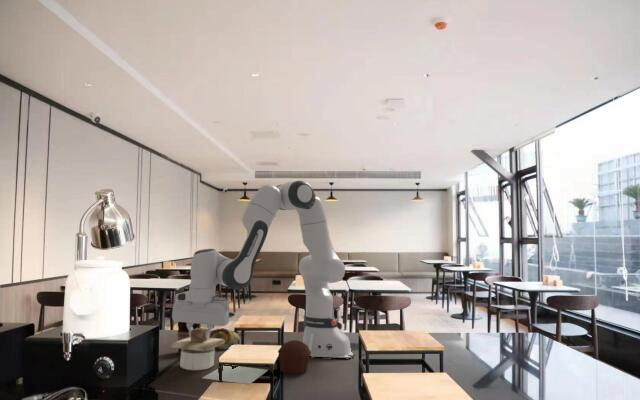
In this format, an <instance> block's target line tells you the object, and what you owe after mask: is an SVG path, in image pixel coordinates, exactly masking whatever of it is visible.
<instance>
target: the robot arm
mask: <svg viewBox="0 0 640 400" xmlns="http://www.w3.org/2000/svg"><path fill="white" fill-rule="evenodd" d="M279 210H280V211H287V210H288V211H293V210H295V211H296V212H297V214H298V216H299V217H298V218H299V225H300V231H301V238H302V243H303V245H304V246H305V247H306V249H307V250H308V252H309V255H306V256H304V257H302V258H301V259H300V261H299V263H298V272H299V273H300V275H301V277H302V281H303V284H304V291H305V315H304V318H303V329H304V330H303V338H302V342H303V343H305V344H306V345H307V346H308V348H309V350H310V351H311V354H310V356H324V357H350V356H348V355H353V353H352V352H351V349H352V347H351V342H350V339H349V336H348V335H346V334H345V333H344V332H343V331H342V330H341V329H340V328H339V327H338V318H335V317H334V316H333V313H334V312H333V311H334V309H333V308H334V307H333V306H334V297H333V294H332V293H331V291H330V289H329V284H335V283H338V282H340V281H341V280H342V279H343V278H344V277H345V275H346V274H345V273H346V266H345V264H344V262H343V260H341V259H340V257H339V256H338V254H337V252H336V250H335V247H334V246H333V244H332V240H331V237H330V232H329V228H328V226H329V225H328V222H327V215H326V211H325V207H324V205H323V202H322V200H321V198H320V197H318V196H316V194H315V192H314V188H313V187H312V185H311V184H310V183H309V182H307V181H305V180H296V181H295V180H294V181H288V182H285V183H282V184H280V185H279V184H278V185H277V186H275V185H273V184H268V183H267V184H262V185H261V186H260V188H259V189H258V190H257V191H256V193H254V195H253V196H252V198H251V199H250V201H249V203H248V204H247V206H246V207H245V210H244V212H243V214H242V218H241V219H242V220H241V221H242V225H243V227H244V228H245V229H246V232H247V234H246V239H245V241H244V242H243V245H242V247H241V249H240V251H239V253H238V255H237V256H236V257H235V258H234V259H232V258H229V257H227V256H224V255H223V254H221V253H220V252H219V251H217V250H216V249H214V248H205V249H200V250H196V251H195V252H194V253H193V255H192V259H191V263H190V274H189V275H190V284H189V288H188V290H185V291H183V292H180V293H176V294H175V296H174V297H175V298H174V299H175V302H174V303H173V306H172V313H171V319H172V320H173V322H176V323H178V322H186V323H187V328H188V330H189V336H191V330H193V327H192V325H193V323H196V324H200V325H206V329H207V331H206V332H204V334H203V335H204V336H203V337H204V338H209V337H210V333H211V332H212V331H213V329H214V326H219V327H224V326H227V325H228V324H229V322H230V310H229V309H230V301H229V299H227V298H226V297H220V296H216V287H217V285H221V286H223V287H228V288H229V289H230V290H234V291H241V290H243V289H245V288H247V287H248V286H249V285H250V283H251V282H252V280H253V277H254V272H255V271H254V270H255V266H256V265H255V264H256V262H257V260H258V257H259V255H260V252H261V250H262V248H263V245H264V243H265V240H266V239H267V236H268V232H269V228H270V226H271V224H272V222H273V220H274V218H275V217H276V215H277V213H278V211H279Z"/></svg>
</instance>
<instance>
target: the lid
mask: <svg viewBox="0 0 640 400" xmlns="http://www.w3.org/2000/svg"><path fill="white" fill-rule="evenodd" d="M207 329H208V328H204V327H203V328H201V327H199V328H196V329H193V330H191V336H190V337H188V338H185V339H182V340H180V341H178V340H177V341H175V342H172V343H170V348H171V349H172V348H173V349H179V348H181V349H190V350H198V351H208V350H210V349H212V348H215V347H217V346H219V345H221V344H223V343H225V339H217V338H204V337H203V336H204V335H203V334H204V332H206V331H207Z"/></svg>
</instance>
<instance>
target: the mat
mask: <svg viewBox="0 0 640 400" xmlns="http://www.w3.org/2000/svg"><path fill="white" fill-rule="evenodd" d="M222 366H223V371H222V381H220V380H219V373H218V368H217V369H214V371H211V372H210V373H208V374H206V375H204V376H202V379H204V380H205V379H206V380H214V381H219V382H227V383H236V384H242V383H251V384H252V383H253V382H255V381H256V380H258V378H260V377H262V376H263V375H264V374H265V373H267V372H268V371H269V369H263V368H256V367H247V366H239V365H237V366H238V367H236V368H234V369H232V367H231V366H224V365H222Z"/></svg>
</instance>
